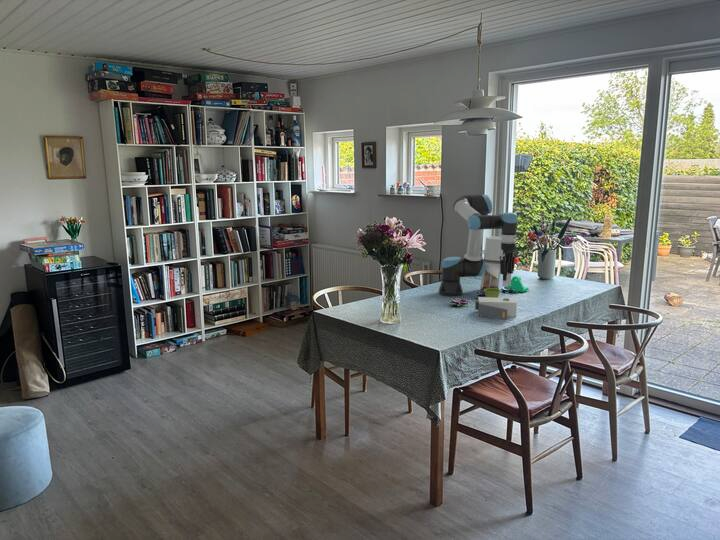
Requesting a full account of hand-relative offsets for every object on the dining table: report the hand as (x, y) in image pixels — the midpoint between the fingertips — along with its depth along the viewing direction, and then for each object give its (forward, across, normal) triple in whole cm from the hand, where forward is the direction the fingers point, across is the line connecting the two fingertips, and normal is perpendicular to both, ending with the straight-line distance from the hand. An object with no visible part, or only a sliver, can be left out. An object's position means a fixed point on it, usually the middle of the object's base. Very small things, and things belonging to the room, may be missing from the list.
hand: (506, 285), depth 288 cm
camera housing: (+19, +6, +9) cm, 21 cm away
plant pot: (+19, +22, +21) cm, 35 cm away
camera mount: (+19, +62, +25) cm, 69 cm away
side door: (+18, -5, +5) cm, 19 cm away
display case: (+18, +48, +38) cm, 64 cm away
